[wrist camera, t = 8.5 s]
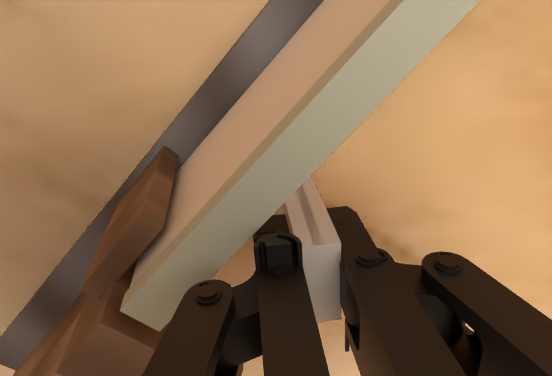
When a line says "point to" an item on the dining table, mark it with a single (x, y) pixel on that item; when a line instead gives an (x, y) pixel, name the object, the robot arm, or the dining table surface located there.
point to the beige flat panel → (281, 137)
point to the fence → (134, 230)
